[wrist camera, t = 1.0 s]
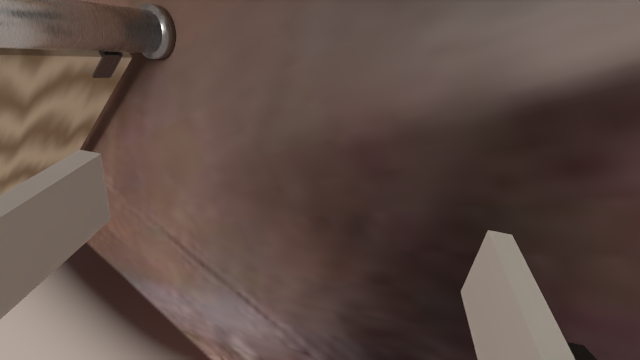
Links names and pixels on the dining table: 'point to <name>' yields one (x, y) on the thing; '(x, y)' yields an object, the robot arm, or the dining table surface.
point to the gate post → (86, 27)
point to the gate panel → (50, 105)
